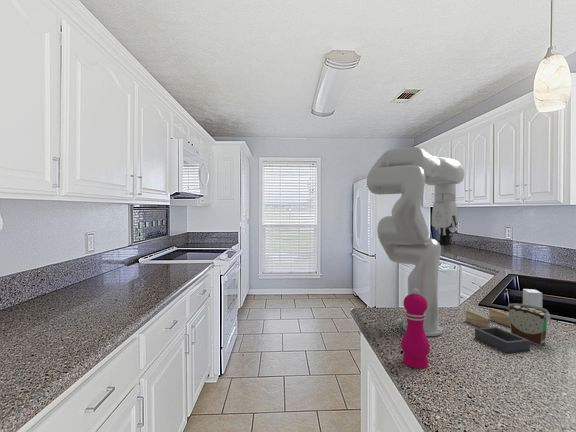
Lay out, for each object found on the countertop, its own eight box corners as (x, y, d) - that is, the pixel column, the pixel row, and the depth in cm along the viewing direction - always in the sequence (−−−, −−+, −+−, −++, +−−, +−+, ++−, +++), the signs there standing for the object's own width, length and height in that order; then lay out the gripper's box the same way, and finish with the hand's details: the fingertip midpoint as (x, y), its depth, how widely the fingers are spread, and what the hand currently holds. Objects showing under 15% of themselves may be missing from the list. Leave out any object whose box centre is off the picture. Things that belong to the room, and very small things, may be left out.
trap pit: (506, 353, 95) (506, 342, 95) (474, 338, 107) (474, 328, 107) (530, 350, 97) (530, 340, 97) (496, 336, 109) (496, 326, 109)
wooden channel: (487, 330, 114) (487, 318, 114) (465, 321, 124) (465, 310, 124) (515, 327, 116) (515, 316, 116) (492, 318, 126) (492, 308, 126)
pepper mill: (427, 372, 84) (427, 292, 84) (397, 365, 88) (398, 289, 88) (432, 361, 90) (432, 287, 90) (404, 355, 94) (404, 284, 94)
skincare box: (542, 327, 117) (543, 293, 117) (528, 326, 118) (528, 292, 118) (535, 322, 123) (535, 289, 123) (522, 320, 124) (522, 288, 124)
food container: (560, 344, 102) (560, 311, 101) (546, 347, 99) (546, 314, 99) (520, 331, 113) (520, 301, 113) (506, 333, 111) (506, 303, 111)
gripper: (424, 199, 139) (424, 243, 140) (449, 198, 125) (449, 247, 125) (440, 199, 141) (440, 243, 141) (466, 198, 126) (466, 246, 127)
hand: (444, 245), depth 133 cm, fingers closed
